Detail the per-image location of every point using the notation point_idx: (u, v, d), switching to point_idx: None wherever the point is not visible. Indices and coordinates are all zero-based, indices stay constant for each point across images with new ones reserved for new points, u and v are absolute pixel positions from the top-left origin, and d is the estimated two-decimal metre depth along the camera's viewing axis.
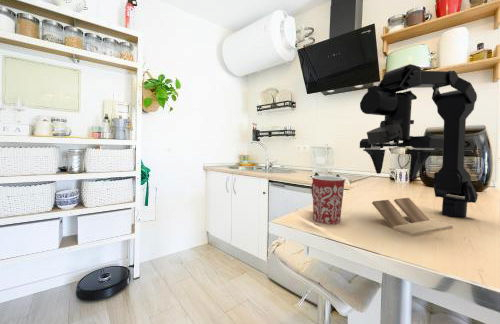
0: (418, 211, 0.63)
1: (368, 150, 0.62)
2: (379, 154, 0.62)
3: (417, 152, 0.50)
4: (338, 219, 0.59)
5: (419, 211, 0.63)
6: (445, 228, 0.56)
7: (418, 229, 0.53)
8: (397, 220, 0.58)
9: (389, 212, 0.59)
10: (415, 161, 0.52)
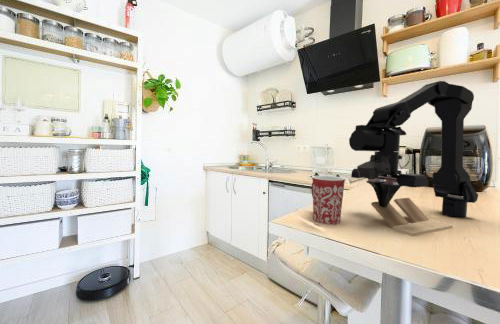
0: (418, 211, 0.63)
1: (371, 183, 0.61)
2: None
3: (387, 186, 0.57)
4: (338, 219, 0.59)
5: (419, 211, 0.63)
6: (445, 228, 0.56)
7: (418, 229, 0.53)
8: (397, 220, 0.58)
9: (388, 213, 0.60)
10: (386, 193, 0.59)
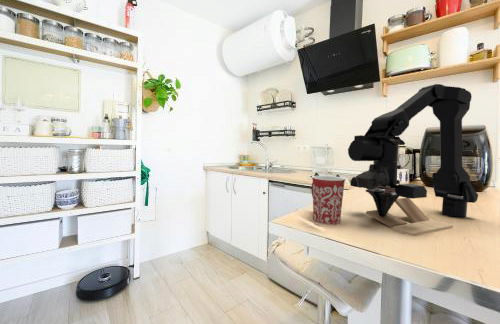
0: (418, 211, 0.63)
1: (371, 192, 0.61)
2: None
3: (386, 196, 0.57)
4: (338, 219, 0.59)
5: (419, 211, 0.63)
6: (445, 228, 0.56)
7: (418, 229, 0.53)
8: (395, 221, 0.59)
9: (385, 217, 0.61)
10: (385, 203, 0.59)
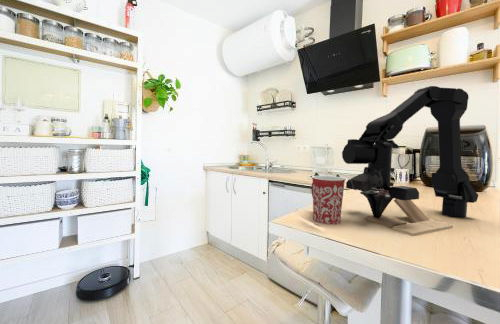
0: (418, 211, 0.63)
1: (365, 194, 0.63)
2: None
3: (380, 198, 0.59)
4: (338, 219, 0.59)
5: (419, 211, 0.63)
6: (445, 228, 0.56)
7: (418, 229, 0.53)
8: (394, 222, 0.59)
9: (384, 219, 0.61)
10: (379, 205, 0.60)
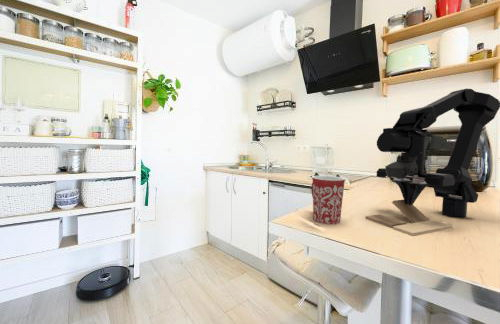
0: (417, 211, 0.63)
1: (397, 182, 0.65)
2: (408, 185, 0.65)
3: (415, 185, 0.61)
4: (338, 219, 0.59)
5: (418, 211, 0.63)
6: (445, 228, 0.56)
7: (418, 229, 0.53)
8: (394, 222, 0.59)
9: (384, 219, 0.61)
10: (413, 192, 0.62)
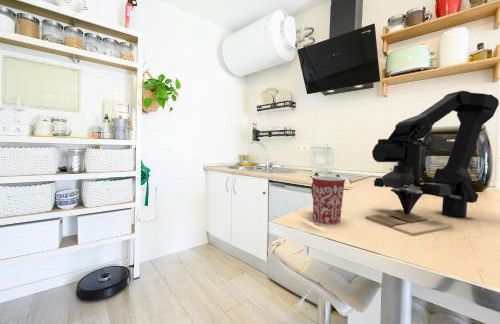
0: (414, 215, 0.64)
1: (396, 191, 0.65)
2: None
3: (410, 195, 0.62)
4: (338, 219, 0.59)
5: (415, 215, 0.64)
6: (445, 228, 0.56)
7: (418, 229, 0.53)
8: (394, 222, 0.59)
9: (384, 219, 0.61)
10: (409, 201, 0.63)
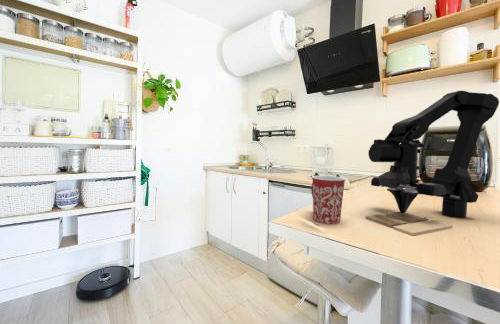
0: (413, 216, 0.64)
1: (392, 191, 0.67)
2: None
3: (406, 194, 0.63)
4: (338, 219, 0.59)
5: (414, 216, 0.64)
6: (445, 228, 0.56)
7: (418, 229, 0.53)
8: (394, 222, 0.59)
9: (384, 219, 0.61)
10: (405, 201, 0.65)
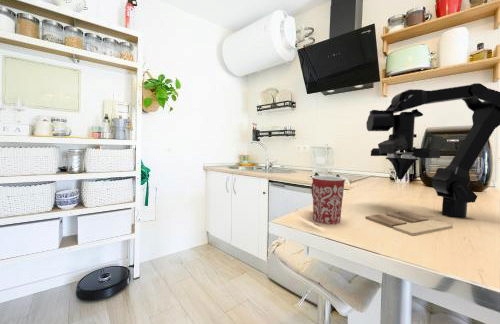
0: (413, 216, 0.64)
1: (390, 158, 0.71)
2: None
3: (404, 160, 0.67)
4: (338, 219, 0.59)
5: (414, 216, 0.64)
6: (445, 228, 0.56)
7: (418, 229, 0.53)
8: (394, 222, 0.59)
9: (384, 219, 0.61)
10: (402, 167, 0.69)
